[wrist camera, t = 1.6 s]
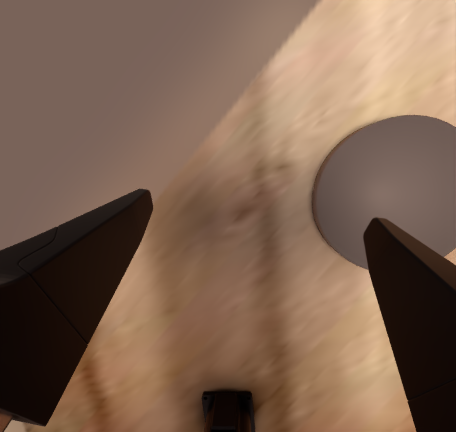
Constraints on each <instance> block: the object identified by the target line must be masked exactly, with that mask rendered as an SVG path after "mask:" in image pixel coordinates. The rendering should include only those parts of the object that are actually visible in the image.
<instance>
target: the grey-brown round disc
mask: <svg viewBox="0 0 456 432" xmlns="http://www.w3.org/2000/svg"><path fill="white" fill-rule="evenodd" d="M312 206H313V214H314V218H315V222H316V224H317V227H318V229H319V231H320V232H321V234H322V236H323V237H324V239H325V240H326V241H327V242H328V244H329V245H331V246H332V247H333V248H334V249H335V250H336V251H337V252H338V253H339V254H340V255H341V256H343V257H344V258H346V259H347V260H348V261H350V262H352V263H353V264H355V265H357V266H360V267H362V268H365V269H368V264H367V258H366V252H365V246H364V240H363V234H364V231H365V230H366V228H367V226H368V225H369V223H370V221H371V220H372V219H373V218H374V217H379V218H386V219H388V220H389V221H391V222H392V223H393V224H395V225H396V226H398V227H399V228H401V229H402V230H404V231H405V232H407V233H408V234H410V235H411V236H413V237H414V238H416V239H417V240H419V241H420V242H422V243H423V244H425V245H426V246H428V247H429V248H431V249H432V250H434V251H435V252H437V253H438V254H440V255H441V256H443V257H444V256H446V255H447V254H449V253H450V252H451V251H453V250H454V249H455V248H456V127H454V126H453V125H451V124H449V123H447V122H445V121H442V120H440V119H437V118H433V117H428V116H420V115H404V116H397V117H392V118H388V119H385V120H382V121H379V122H376V123H373V124H371V125H368V126H366V127H364V128H361V129H359V130H357V131H355V132H354V133H352V134H351V135H349V136H348V137H346V138H345V139H344V140H342V141H341V142H340V143H339V144H338V145H337V146H336V147H335V148H334V149H333V150H332V151H331V152H330V154H329V155H328V156H327V157H326V159H325V161H324V162H323V164H322V166H321V168H320V170H319V172H318V174H317V177H316V180H315V183H314V188H313V194H312ZM368 270H369V269H368Z"/></svg>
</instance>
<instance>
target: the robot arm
mask: <svg viewBox="0 0 456 432" xmlns="http://www.w3.org/2000/svg"><path fill="white" fill-rule="evenodd" d="M152 211H153V203H152V198H151V193H150V191H149V190H146V189H138V190H135V191H133V192H131V193H129V194H127V195H124V196H122V197H120V198H118V199H116V200H114V201H112V202H109V203H107V204H105V205H103V206H100V207H98V208H96V209H94V210H92V211H90V212H87V213H85V214H83V215H81V216H79V217H76V218H74V219H72V220H70V221H68V222H66V223H63V224H61V225H59V226H58V227H54V228H52V229H50V230H48V231H46V232H44V233H41V234H39V235H37V236H34V237H32V238H30V239H27V240H25V241H23V242H20V243H18V244H15V245H13V246H10V247H8V248H5V249H3V250H0V432H4V430H5V429H6V428H7V426H8V424H9V423H10V421H11V420H15V421H20V422H25V423H30V424H35V425H39V426H46V425H47V423H48V421H49V420H50V418H51V416H52V414H53V412H54V410H55V408H56V406H57V404H58V402H59V400H60V398H61V396H62V395H63V393H64V391H65V389H66V387H67V385H68V383H69V381H70V379H71V377H72V375H73V373H74V371H75V369H76V367H77V365H78V363H79V362H80V360H81V358H82V356H83V354H84V352H85V350H86V348H87V346H88V345H87V344H89V342H90V340H91V338H92V336H93V334H94V332H95V330H96V328H97V326H98V324H99V322H100V320H101V318H102V317H103V315H104V313H105V311H106V309H107V307H108V305H109V303H110V301H111V299H112V297H113V295H114V293H115V291H116V289H117V287H118V285H119V284H120V282H121V280H122V278H123V276H124V274H125V272H126V270H127V268H128V266H129V264H130V262H131V260H132V258H133V256H134V254H135V252H136V251H137V249H138V247H139V245H140V243H141V240H142V238H143V236H144V233H145V230H146V227H147V225H148V222H149V219H150V217H151V214H152ZM363 240H364V246H365V252H366V258H367V264H368V269H369V273H370V277H371V281H372V284H373V287H374V291H375V294H376V297H377V301H378V304H379V307H380V311H381V314H382V317H383V321H384V324H385V327H386V331H387V334H388V337H389V341H390V344H391V347H392V351H393V354H394V357H395V361H396V364H397V367H398V371H399V374H400V377H401V381H402V384H403V387H404V391H405V394H406V397H407V400H408V405H409V408H410V411H411V415H412V418H413V421H414V425H415V428H416V431H417V432H456V265H454V264H453V263H452V262H450V261H449V260H447V259H446V258H444V257H443V256H441V255H440V254H438V253H437V252H435V251H434V250H432V249H431V248H429V247H428V246H426V245H425V244H423V243H422V242H420V241H419V240H417V239H416V238H414V237H413V236H411V235H410V234H408V233H407V232H405V231H404V230H402V229H401V228H399V227H398V226H396V225H395V224H393V223H392V222H391V221H389V220H388V219H386V218H379V217H374V218H373V219H372V220H371V221H370V223H369V225H368V226H367V228H366V230H365V231H364V234H363ZM202 403H203V411H204V418H205V429H204V432H255V422H254V411H253V400H252V394H251V393H250V392H204V393H203V394H202Z"/></svg>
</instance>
